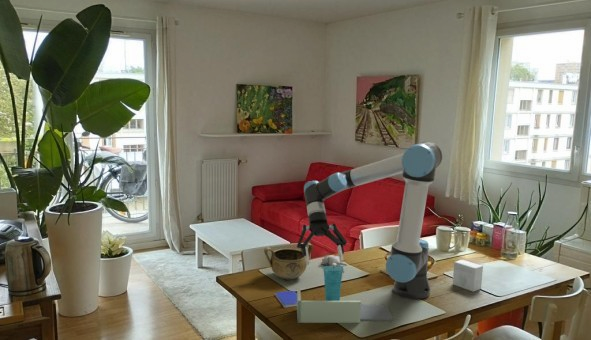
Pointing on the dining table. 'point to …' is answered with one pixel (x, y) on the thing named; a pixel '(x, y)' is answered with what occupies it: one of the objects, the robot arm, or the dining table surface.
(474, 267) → the skincare box
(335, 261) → the bunny figurine
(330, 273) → the tube
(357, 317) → the l-shaped block
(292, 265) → the ceramic bowl
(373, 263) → the dining table surface
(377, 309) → the mat
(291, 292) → the hard drive
